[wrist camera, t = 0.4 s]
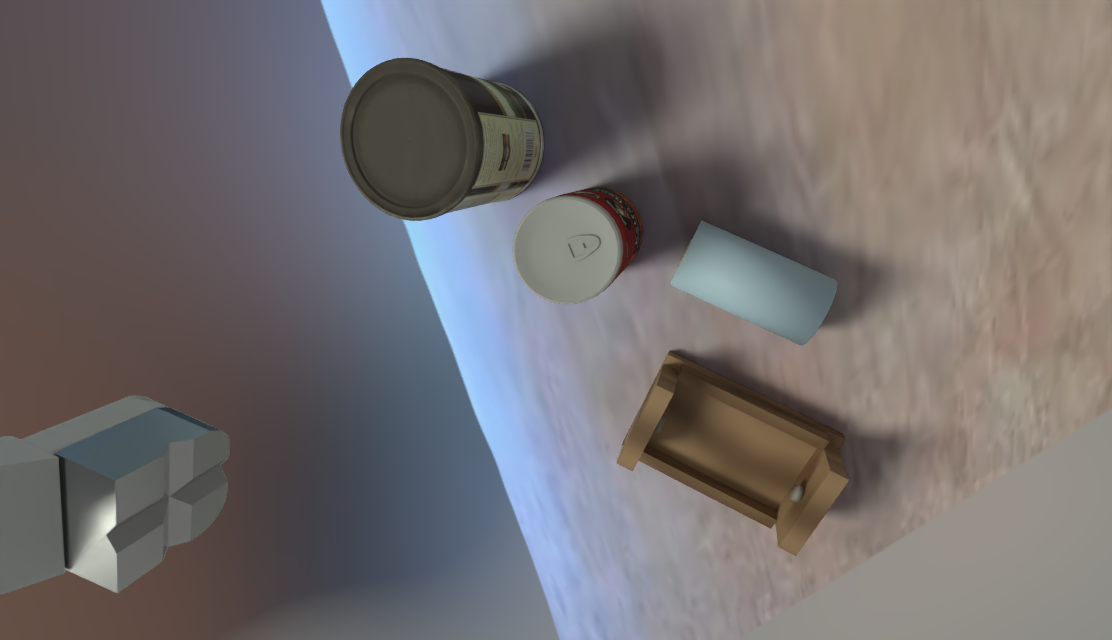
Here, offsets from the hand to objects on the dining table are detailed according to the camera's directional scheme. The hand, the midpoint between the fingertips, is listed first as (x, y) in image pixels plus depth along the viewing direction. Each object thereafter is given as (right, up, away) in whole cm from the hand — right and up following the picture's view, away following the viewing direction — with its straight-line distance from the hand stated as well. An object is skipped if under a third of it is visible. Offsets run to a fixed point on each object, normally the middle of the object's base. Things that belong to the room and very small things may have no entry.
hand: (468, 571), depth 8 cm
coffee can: (-5, +19, +44) cm, 48 cm away
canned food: (+5, +11, +43) cm, 45 cm away
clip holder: (+17, -7, +45) cm, 48 cm away
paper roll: (+17, +7, +41) cm, 45 cm away
